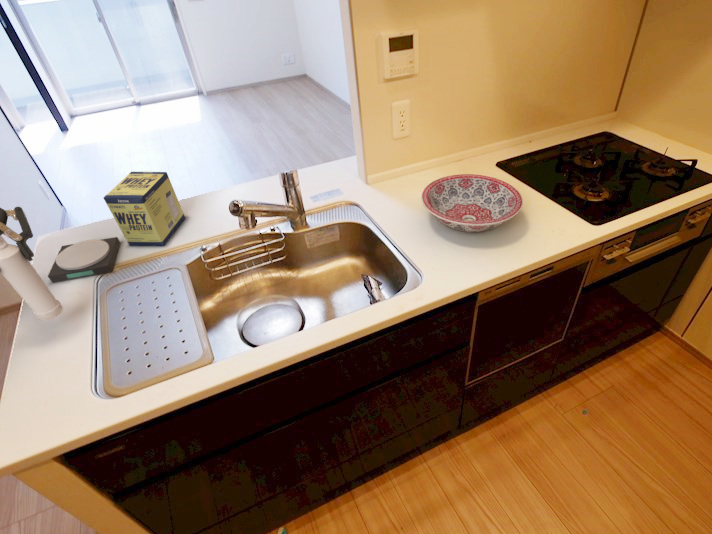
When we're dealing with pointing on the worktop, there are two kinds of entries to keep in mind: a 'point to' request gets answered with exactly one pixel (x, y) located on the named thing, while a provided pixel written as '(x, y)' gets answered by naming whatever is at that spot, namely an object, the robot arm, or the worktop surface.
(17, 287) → the bottle
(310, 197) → the worktop surface
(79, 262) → the scale
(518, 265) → the worktop surface
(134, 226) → the protein box
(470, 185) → the ceramic bowl
